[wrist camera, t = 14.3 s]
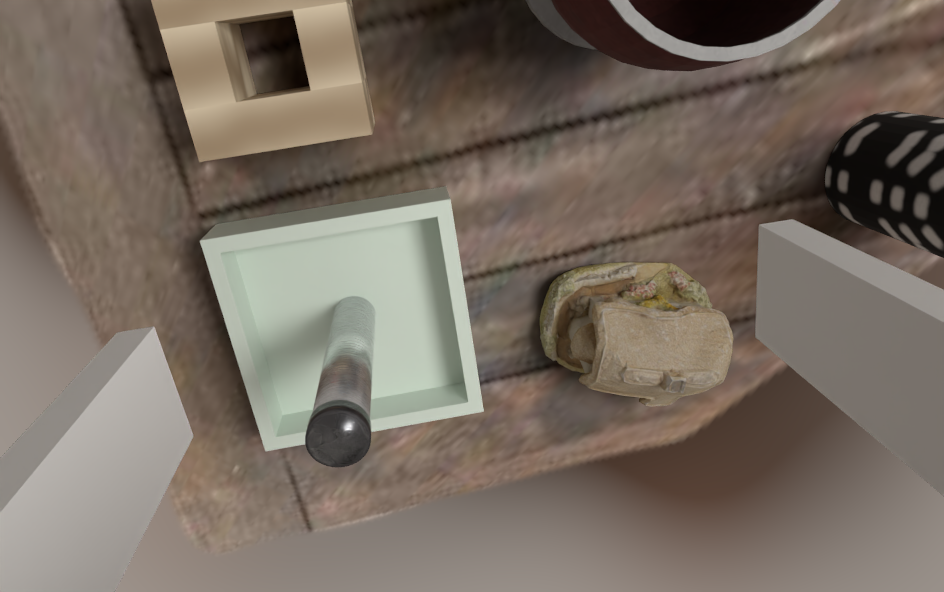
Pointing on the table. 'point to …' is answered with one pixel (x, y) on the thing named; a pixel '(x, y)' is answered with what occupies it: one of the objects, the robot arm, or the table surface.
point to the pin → (344, 387)
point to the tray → (334, 278)
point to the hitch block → (231, 83)
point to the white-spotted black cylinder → (892, 177)
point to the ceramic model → (636, 331)
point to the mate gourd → (680, 28)
